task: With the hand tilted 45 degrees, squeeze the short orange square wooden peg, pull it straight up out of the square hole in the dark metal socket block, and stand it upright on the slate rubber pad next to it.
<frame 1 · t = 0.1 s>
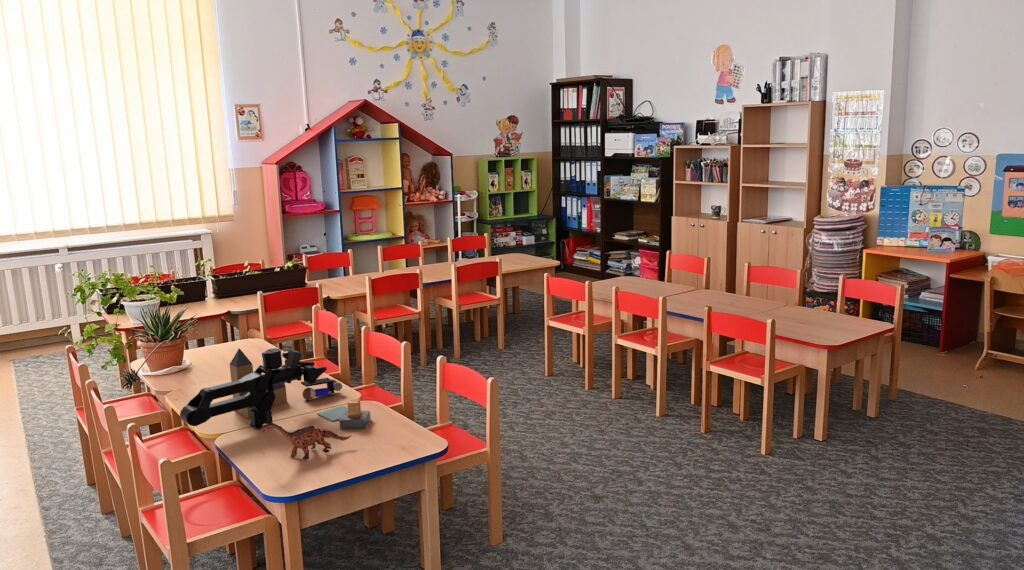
hand: (320, 365, 302), 17 cm above the table, tool horizontal, fingers open, 9 cm apart
figurine character: (322, 397, 318), on the table
toy dinosaur: (307, 456, 261), on the table
pad: (337, 414, 298), on the table
socket block: (355, 424, 287), on the table
toy building blocks: (264, 408, 307), on the table
peg: (354, 412, 286), in the socket block
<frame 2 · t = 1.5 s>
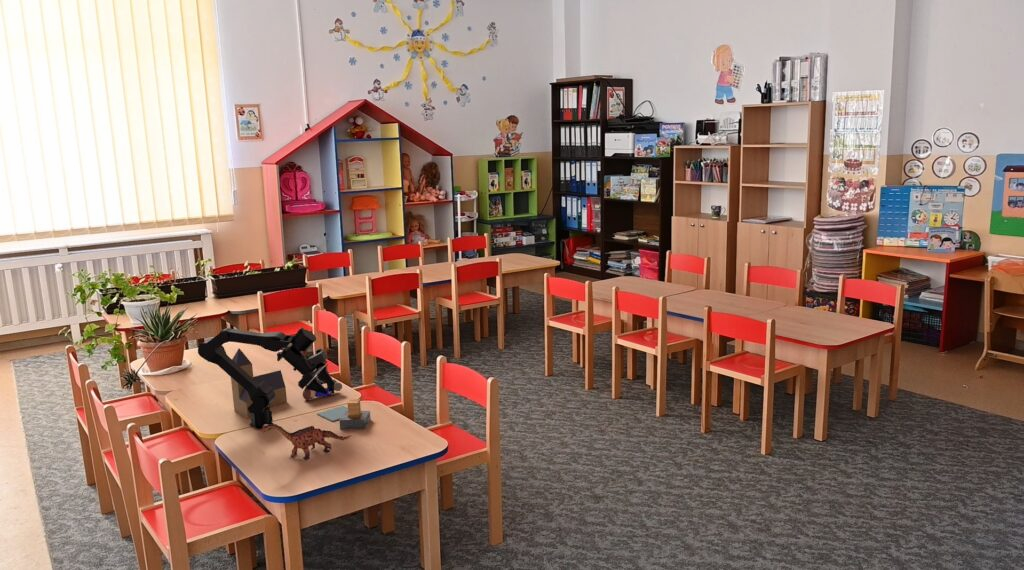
hand: (330, 388, 285), 14 cm above the table, tool tilted 45°, fingers open, 9 cm apart
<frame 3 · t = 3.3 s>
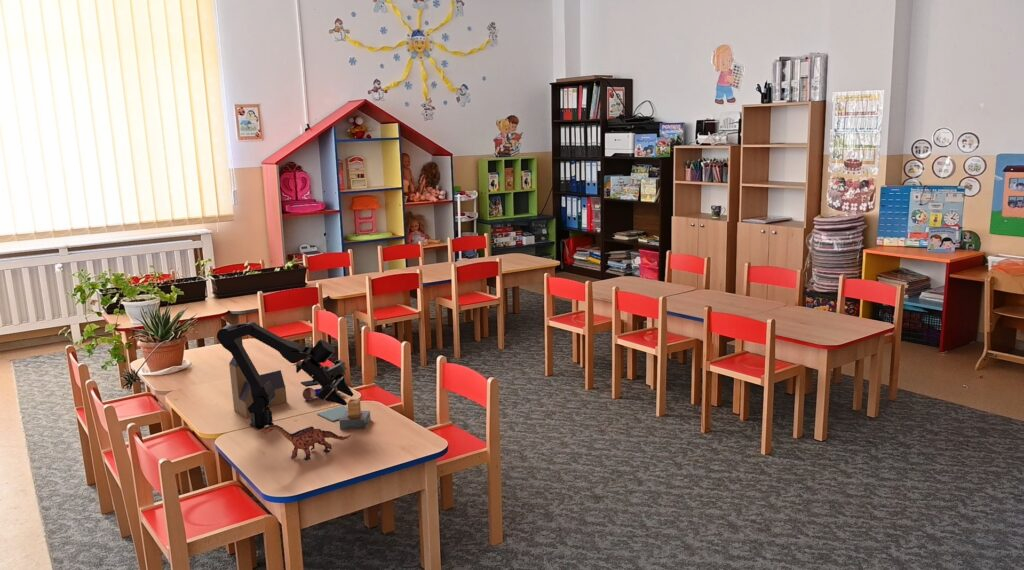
hand: (349, 400, 285), 9 cm above the table, tool tilted 45°, fingers open, 9 cm apart
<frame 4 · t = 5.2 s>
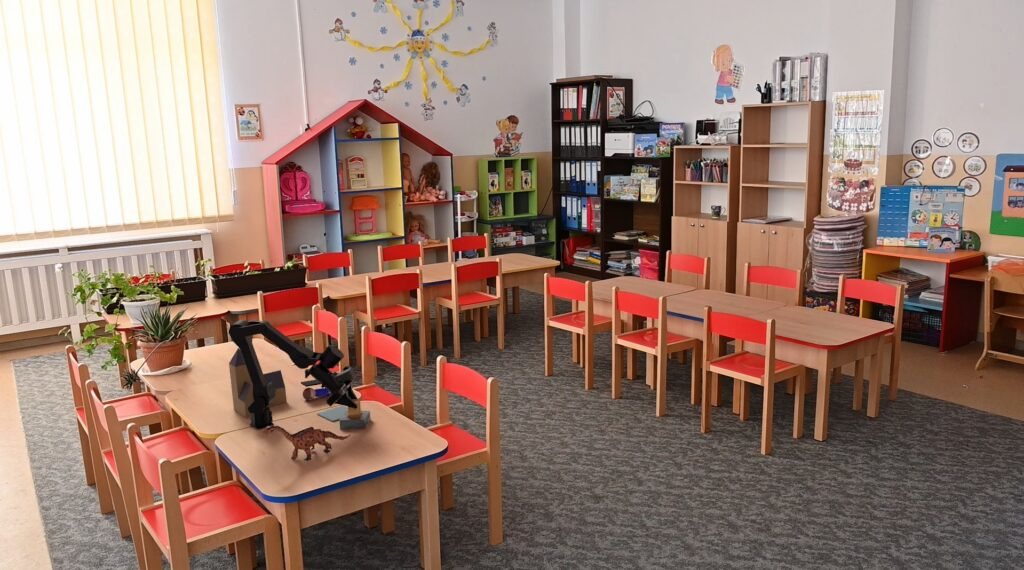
hand: (358, 405, 286), 7 cm above the table, tool tilted 45°, fingers closed on peg, 4 cm apart
peg: (354, 412, 286), in the socket block, touching gripper
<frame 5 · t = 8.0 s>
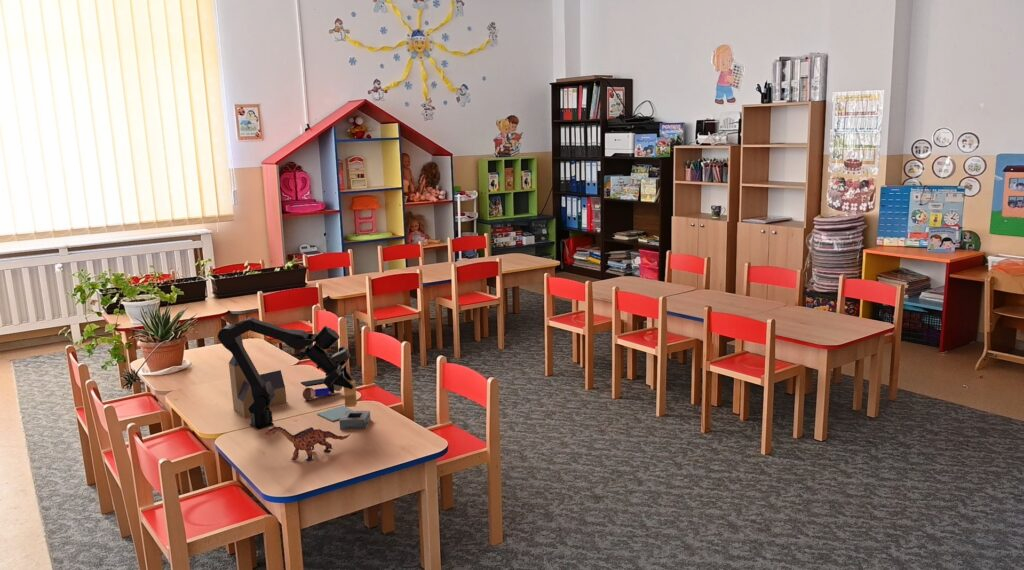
hand: (353, 386, 287), 14 cm above the table, tool tilted 45°, fingers closed on peg, 4 cm apart
peg: (350, 393, 288), point 11 cm above the table, touching gripper
when the fingers open (9 cm above the table, at t = 10.8 s): peg stays where it is, resting on pad.
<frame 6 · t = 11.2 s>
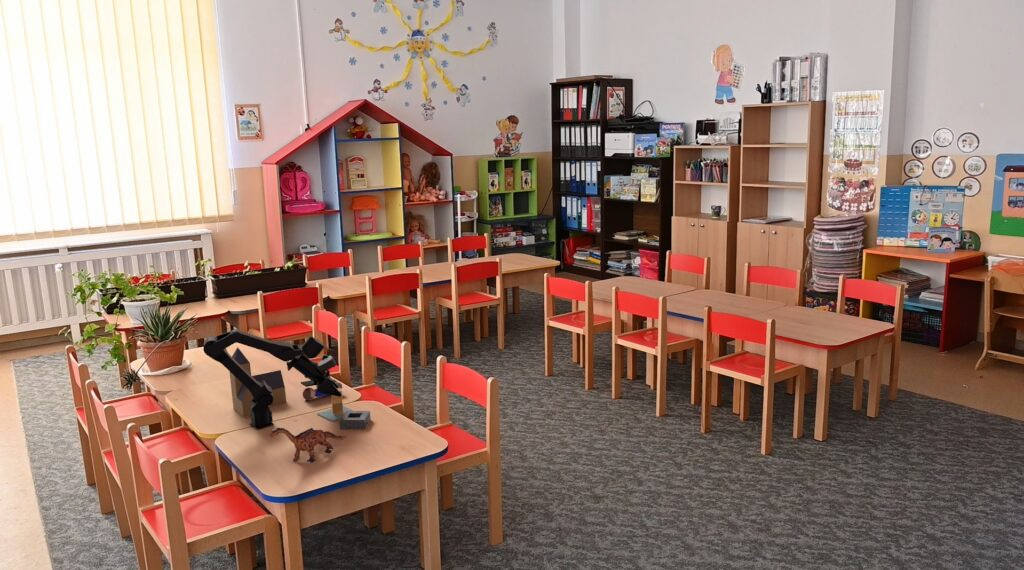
hand: (339, 392, 296), 9 cm above the table, tool tilted 45°, fingers open, 8 cm apart
peg: (336, 401, 297), on the pad
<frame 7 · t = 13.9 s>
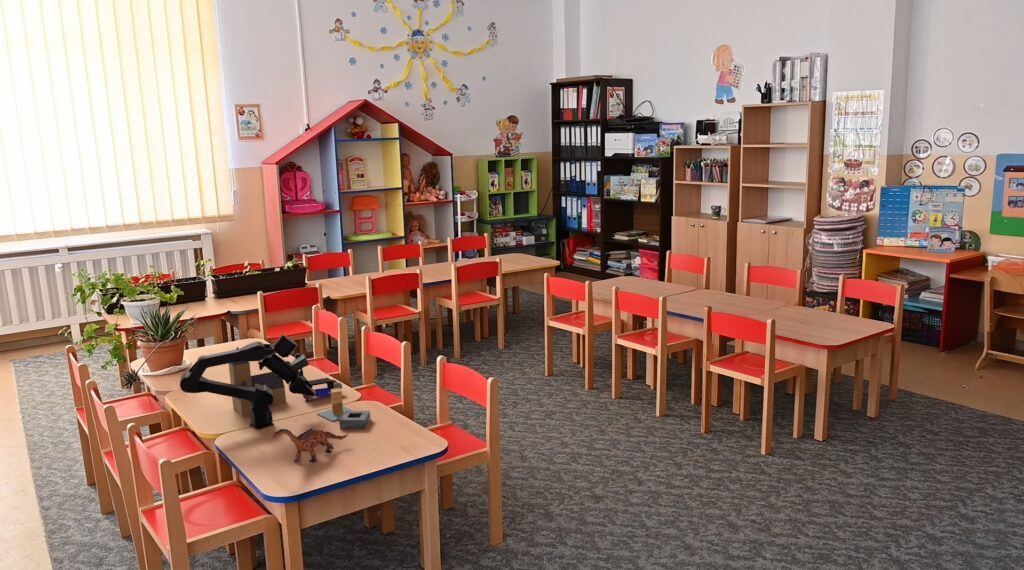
hand: (313, 391, 293), 10 cm above the table, tool tilted 45°, fingers open, 9 cm apart
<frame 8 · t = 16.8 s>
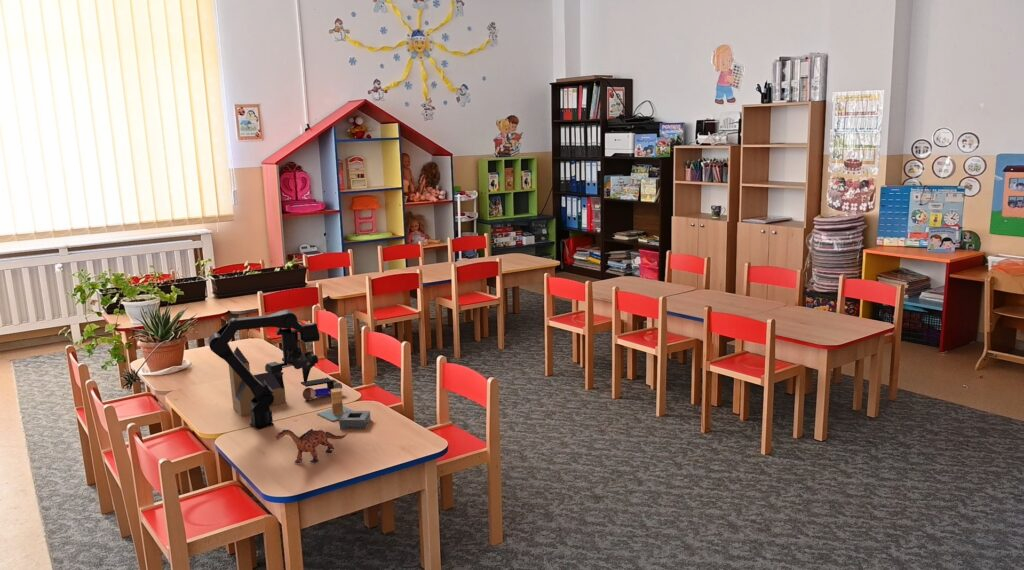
hand: (294, 385, 291), 13 cm above the table, tool pointing down, fingers open, 9 cm apart
at the end: peg inside the target area on the pad (0.1 cm from its centre), point 5.0 cm above the pad's base; peg tilted 0°; the gripper is holding nothing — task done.
